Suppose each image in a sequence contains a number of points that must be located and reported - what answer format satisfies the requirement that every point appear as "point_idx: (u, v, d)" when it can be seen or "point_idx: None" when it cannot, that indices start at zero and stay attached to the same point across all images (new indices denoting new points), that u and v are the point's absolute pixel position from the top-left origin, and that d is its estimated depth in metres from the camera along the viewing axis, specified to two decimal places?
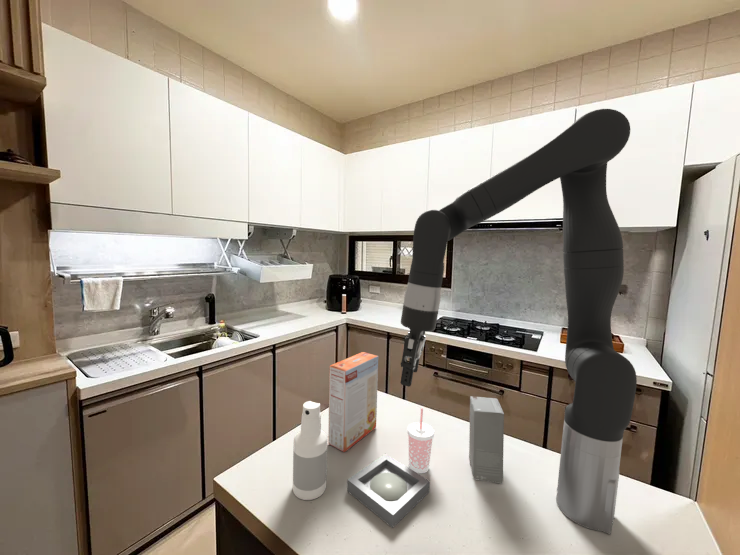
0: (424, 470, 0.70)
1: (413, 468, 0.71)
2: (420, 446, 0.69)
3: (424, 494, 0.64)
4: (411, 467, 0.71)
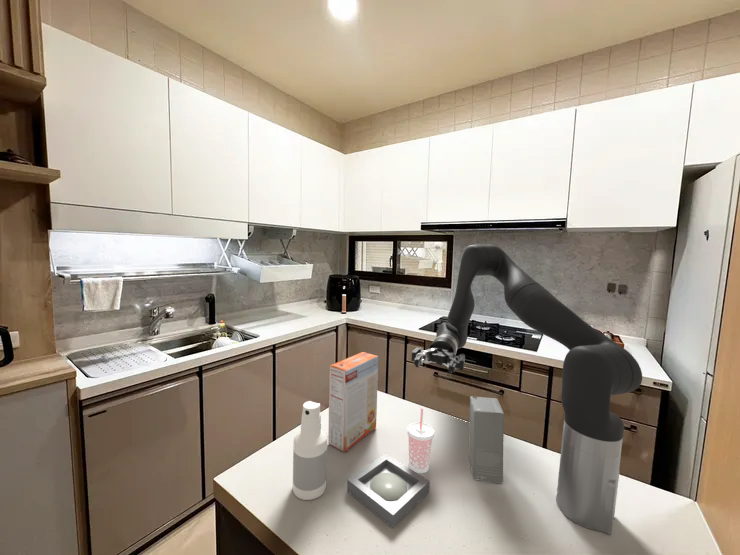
0: (424, 470, 0.70)
1: (413, 468, 0.71)
2: (420, 446, 0.69)
3: (424, 494, 0.64)
4: (411, 467, 0.71)
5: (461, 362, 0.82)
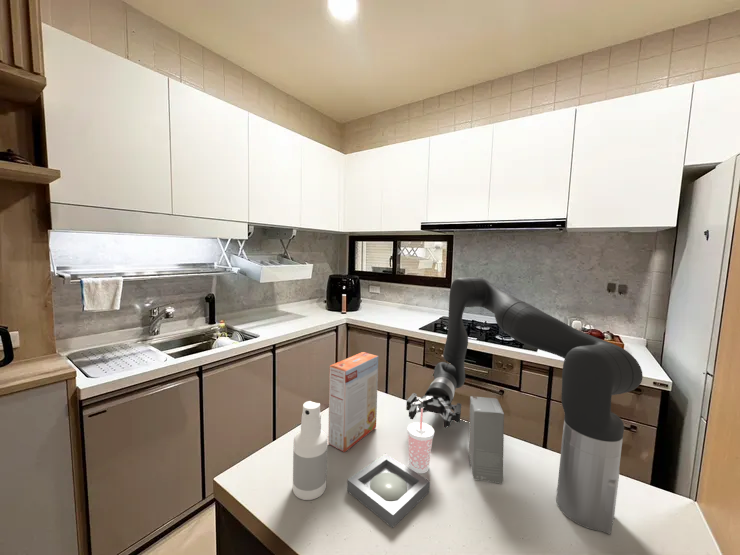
0: (424, 470, 0.70)
1: (413, 468, 0.71)
2: (420, 446, 0.69)
3: (424, 494, 0.64)
4: (411, 467, 0.71)
5: (457, 414, 0.80)
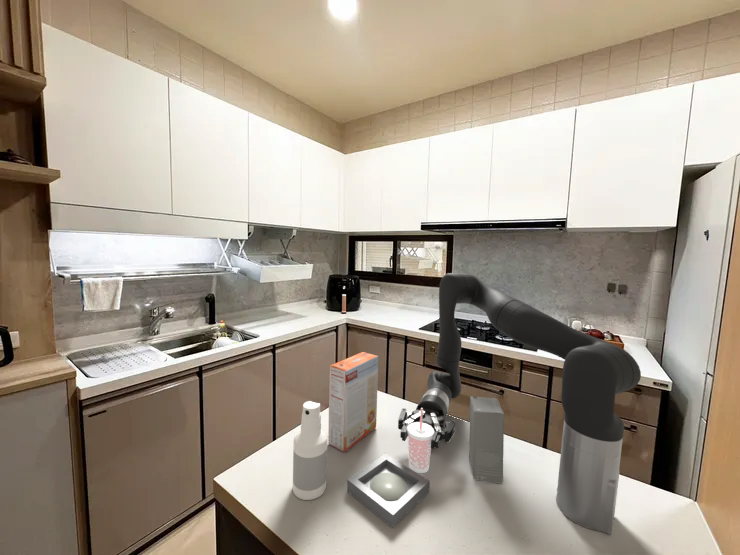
0: (424, 470, 0.70)
1: (413, 468, 0.71)
2: (420, 446, 0.69)
3: (424, 494, 0.64)
4: (411, 467, 0.71)
5: (446, 433, 0.72)
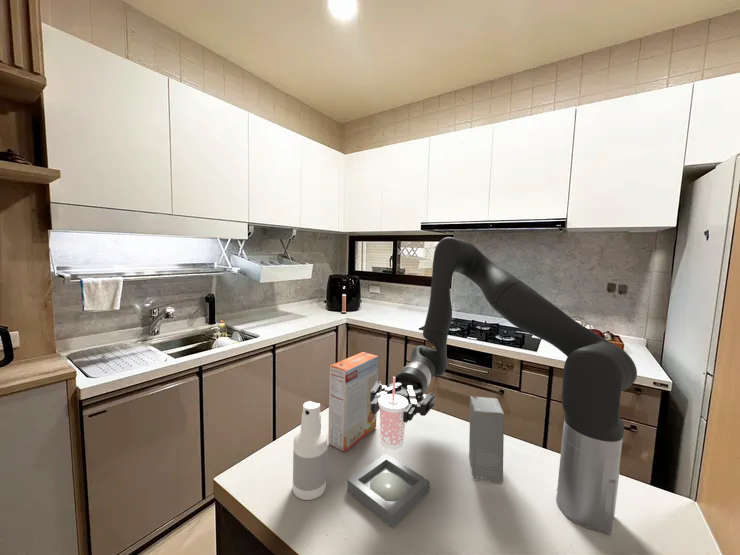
0: (397, 446, 0.62)
1: (384, 444, 0.63)
2: (391, 419, 0.61)
3: (424, 494, 0.64)
4: (382, 443, 0.63)
5: (422, 406, 0.63)
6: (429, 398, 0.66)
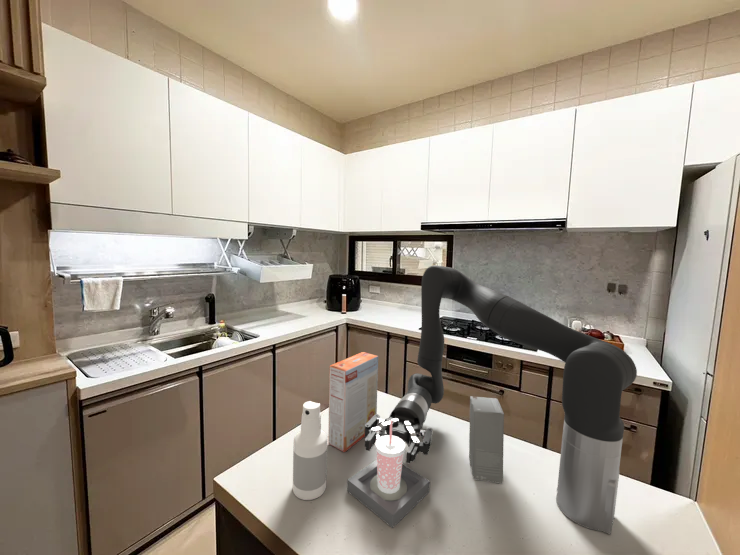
0: (394, 490, 0.63)
1: (381, 488, 0.63)
2: (388, 463, 0.61)
3: (424, 494, 0.64)
4: (379, 486, 0.63)
5: (425, 445, 0.63)
6: (429, 435, 0.66)
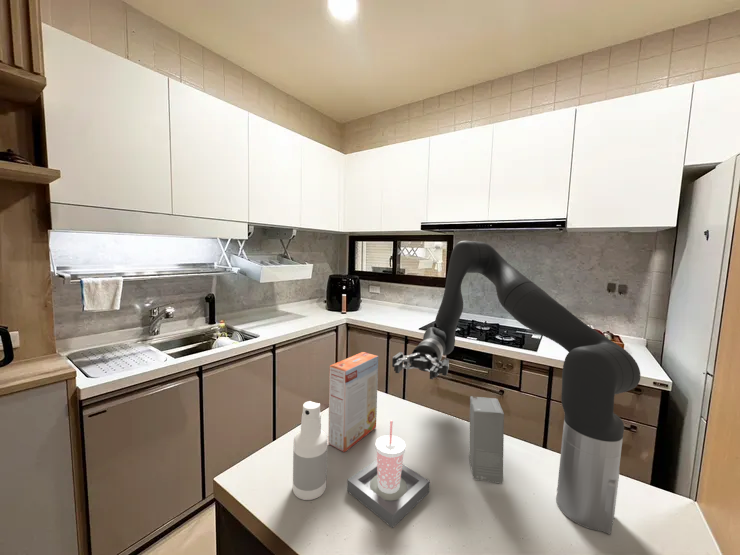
0: (394, 490, 0.63)
1: (381, 488, 0.63)
2: (388, 463, 0.61)
3: (424, 494, 0.64)
4: (379, 486, 0.63)
5: (444, 367, 0.77)
6: (447, 362, 0.80)
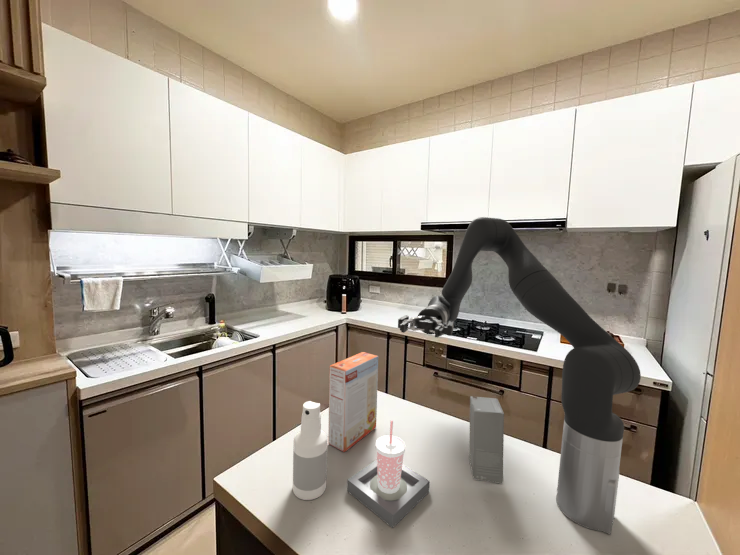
0: (393, 490, 0.63)
1: (381, 488, 0.63)
2: (388, 463, 0.61)
3: (424, 494, 0.64)
4: (379, 486, 0.63)
5: (449, 327, 0.79)
6: (451, 323, 0.82)
